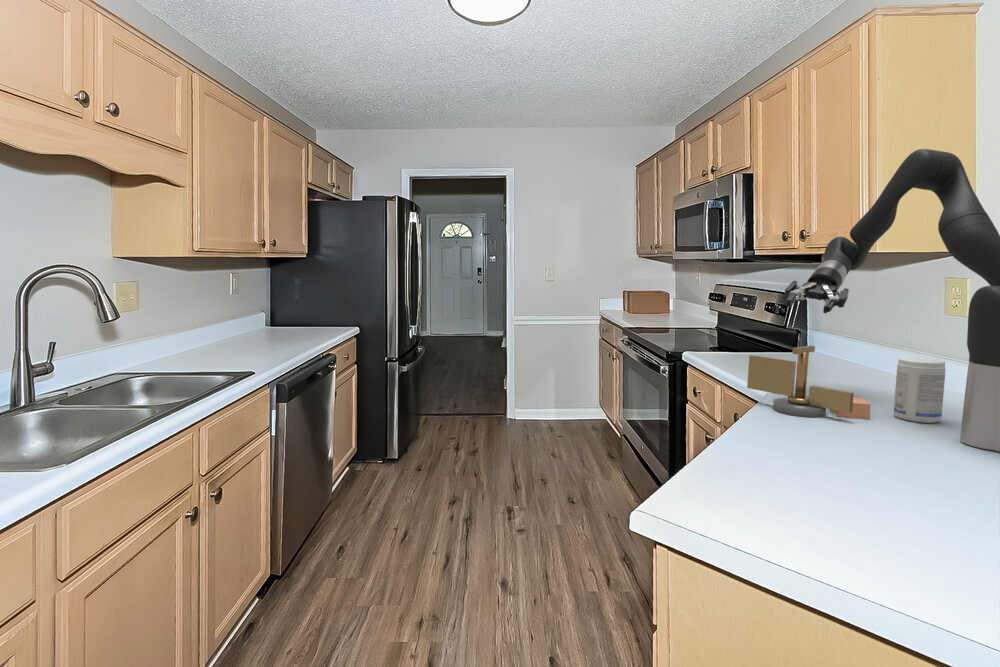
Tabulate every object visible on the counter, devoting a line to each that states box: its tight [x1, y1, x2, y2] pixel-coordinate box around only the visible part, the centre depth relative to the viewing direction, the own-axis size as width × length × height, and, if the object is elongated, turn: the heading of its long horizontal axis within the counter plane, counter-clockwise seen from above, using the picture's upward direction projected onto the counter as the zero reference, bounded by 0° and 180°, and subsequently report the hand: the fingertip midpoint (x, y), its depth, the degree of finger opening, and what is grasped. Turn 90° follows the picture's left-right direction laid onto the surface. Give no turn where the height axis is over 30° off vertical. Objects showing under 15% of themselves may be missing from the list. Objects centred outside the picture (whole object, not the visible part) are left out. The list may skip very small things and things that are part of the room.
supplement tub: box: [893, 356, 946, 424], centre depth 141 cm, size 10×10×15 cm
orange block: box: [829, 396, 872, 420], centre depth 145 cm, size 7×7×4 cm
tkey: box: [746, 345, 855, 413], centre depth 147 cm, size 26×9×14 cm, turn 37°
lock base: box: [772, 397, 827, 418], centre depth 147 cm, size 12×12×2 cm
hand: (806, 306), depth 148 cm, fingers open, 8 cm apart
